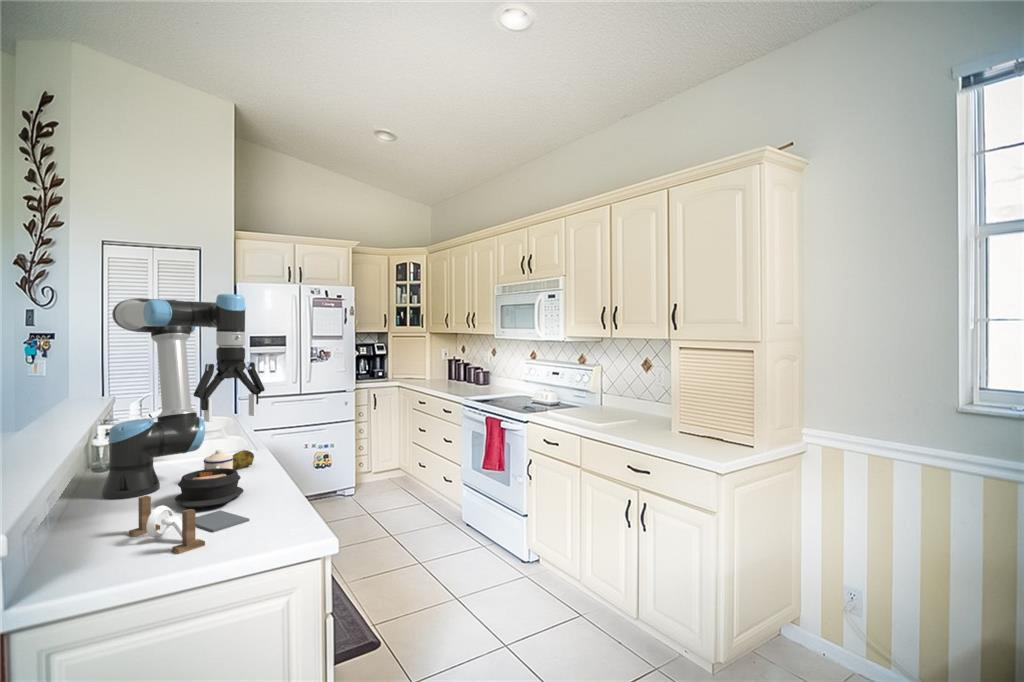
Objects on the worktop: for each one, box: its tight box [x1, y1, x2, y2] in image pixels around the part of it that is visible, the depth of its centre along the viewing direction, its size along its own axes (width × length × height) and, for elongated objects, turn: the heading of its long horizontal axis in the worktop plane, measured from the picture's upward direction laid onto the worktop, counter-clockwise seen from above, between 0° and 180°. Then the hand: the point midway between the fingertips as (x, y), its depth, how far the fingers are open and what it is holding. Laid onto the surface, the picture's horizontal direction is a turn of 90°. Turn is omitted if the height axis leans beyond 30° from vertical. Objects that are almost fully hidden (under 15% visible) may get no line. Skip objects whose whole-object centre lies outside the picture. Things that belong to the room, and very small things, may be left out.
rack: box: [128, 495, 206, 555], centre depth 132 cm, size 24×6×9 cm, turn 59°
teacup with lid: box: [203, 449, 234, 470], centre depth 182 cm, size 12×9×12 cm
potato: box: [232, 449, 255, 471], centre depth 198 cm, size 8×13×8 cm, turn 117°
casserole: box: [174, 468, 245, 508], centre depth 165 cm, size 25×19×8 cm
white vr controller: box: [146, 504, 182, 538], centre depth 132 cm, size 8×12×7 cm
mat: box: [195, 509, 250, 533], centre depth 145 cm, size 14×10×1 cm
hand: (230, 418), depth 157 cm, fingers open, 13 cm apart
